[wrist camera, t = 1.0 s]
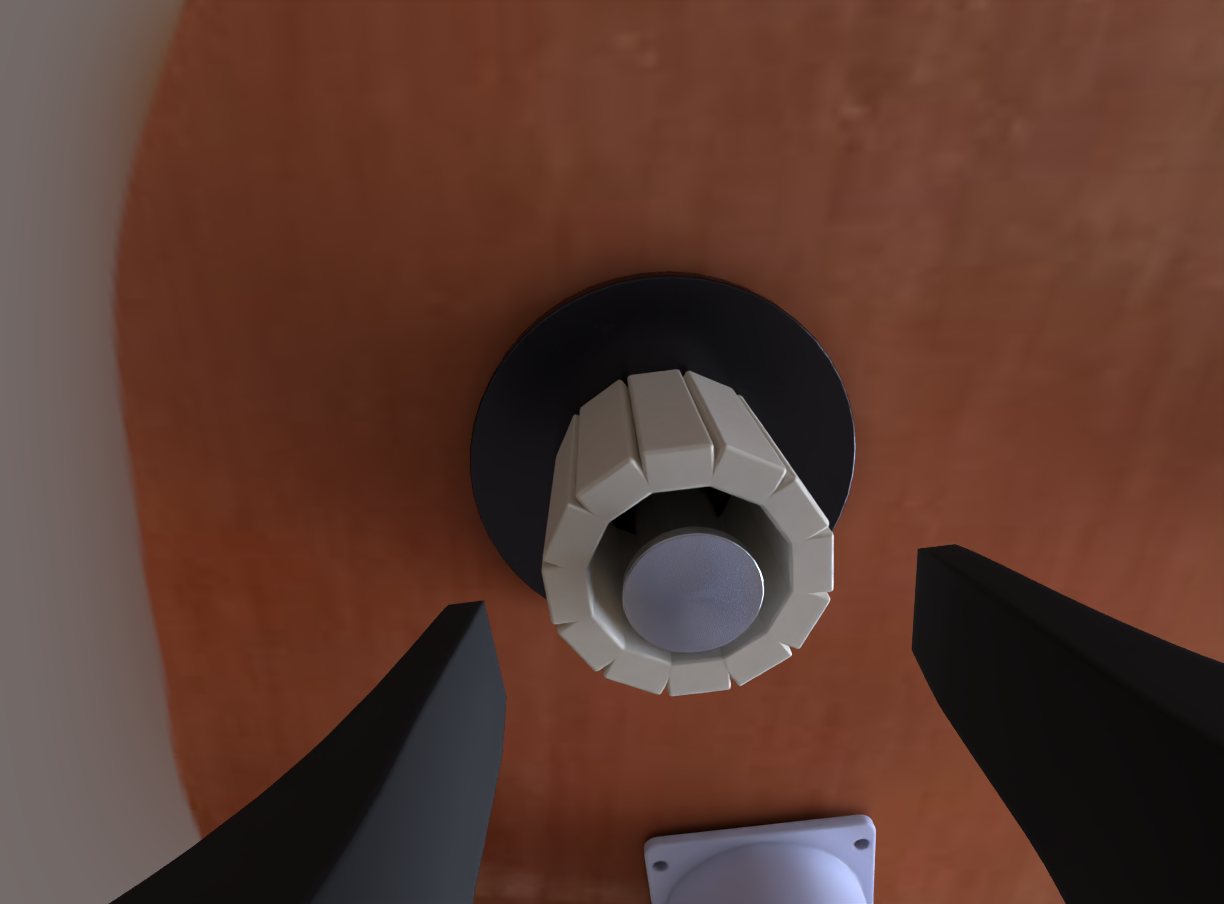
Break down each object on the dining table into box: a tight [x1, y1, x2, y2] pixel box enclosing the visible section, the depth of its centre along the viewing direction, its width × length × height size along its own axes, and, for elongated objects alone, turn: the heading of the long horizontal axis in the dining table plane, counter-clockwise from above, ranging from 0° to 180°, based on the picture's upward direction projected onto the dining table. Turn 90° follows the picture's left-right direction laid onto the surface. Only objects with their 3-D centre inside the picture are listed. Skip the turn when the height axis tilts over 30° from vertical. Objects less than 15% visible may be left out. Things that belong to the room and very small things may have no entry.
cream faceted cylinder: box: [541, 369, 834, 696], centre depth 15 cm, size 6×6×5 cm
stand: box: [470, 271, 856, 653], centre depth 15 cm, size 10×10×6 cm
